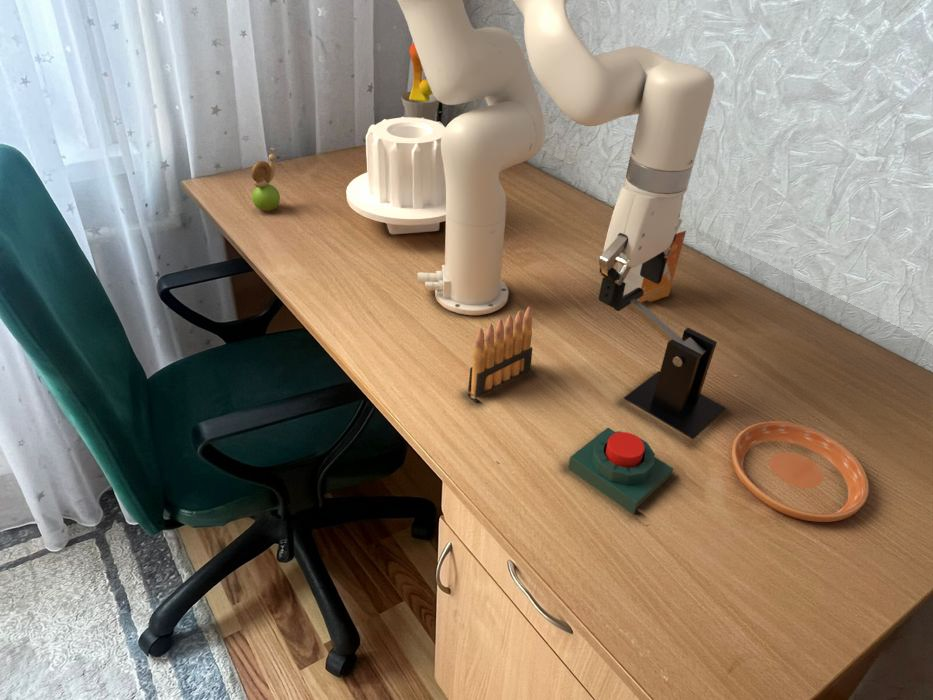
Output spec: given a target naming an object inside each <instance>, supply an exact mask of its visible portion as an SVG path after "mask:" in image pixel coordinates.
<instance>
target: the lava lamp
mask: <svg viewBox="0 0 933 700" xmlns="http://www.w3.org/2000/svg"><path fill="white" fill-rule="evenodd" d="M408 31H409V33H410V30H408ZM408 53H409V56H410V59H411V63H412V69H413V81H412V87H411V91H407V92H406V91H405V92H404V93H402V94H401V95H400V99H401V102H402V105H403V108H404V111H405V113H406V117H410V118H422V117H423V118H424V119H428V120H432V121H434V119H435V116H436V113H437V110H438V107H439V105H440V101H438V100H437V99H436V97H435V96H434V95H433V93H432V91H431V89H430V86H429V84H428V81H427V79H426V78H424V79H422V77H423V72H424V70H423V67H422V65H421V62H420V59H419V56H418V53H417V50H416V48H415V45H414V42H413V43H411V44H410V48H409V51H408Z"/></svg>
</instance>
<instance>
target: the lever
mask: <svg viewBox="0 0 933 700" xmlns="http://www.w3.org/2000/svg"><path fill="white" fill-rule="evenodd" d="M643 295H644V292H643V290H642V289H641V288H636V289H634V290H632V291H631V292H629V293H628V294H626V295H624V294H623V298H622V302H621V306H620V308H619V309H614V308H613V310H614V311H615V312H620V311H621V310H623V309H625V308H626V307H628V308H630V309H631V310H632V311H633V312H634V313H635V314H636V315H638V316H639V317H640V318H641V319H642V320H643V321H644V322H646V323H647V324H648V325H649V326H650V327H651V328H653V329H654V330H655V331H656V332H657V333H658V334H659V335H661V336H662V337H663V338H664V340H666V341H667V343H668V342H669V341H670V340H671V339H673V340H675V341H677V342H679V343H681V344H682V345H684V346H686V347H688V348H690V349H692V350H694V351H696V352H698V353H700V354H701V357H702V356H703V354H704V353H705V352H706V350H704V349H703V348H702V347H701V346H700V345H699V344H697V343H696V342H695V341H694V340H693V339H692V338H691V337H689V338H688V339H687V340H685V341H684V340H682V337H680V336H679V335H678V334H677V333H676V332H675V331H674V330H672V329H671V328H670V327H669V326H668V325H667V324H665V322H663V321H662V320H661V319H660V318H659V317H658V316H656V315H655V314H654V313H653V312H652V311H651V310H649V309H648V308H647V307H646V306H645V305H644V304H642V302H641V303H640V302H639V301H638V299H639V298H641V297H642V296H643ZM701 357H700V358H701Z"/></svg>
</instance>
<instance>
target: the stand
mask: <svg viewBox="0 0 933 700" xmlns="http://www.w3.org/2000/svg"><path fill="white" fill-rule="evenodd" d="M689 337H691V338H692V339H693V340H694V341H695V342H696V343H697V344H699V345H700V346H701V347H702V348H703V349H704V350H706V352H705V353H704V354H703V356H702V357H701V354H700V353H698V352H696V351H694V350H692V349H690V348H688V347H686V346H684V345H682V344H681V343H679V342H677V341H675V340H673V339H671V340H670V341H669V342H668V341H667V344H666V347H665V352H664V356H663V358H662V363H661V365H660V366H661V367H660V370H658V371H657V372H656V373H654V374H653V375H651V376H650V377H649V378H648V379H646V380H645V381H643V383H641V384H640V385H638V386H637V387H636V388H634V389H633V390H632V391H630V392H629V393H628V394H627V395H625V396H624V397H623V399H624V400H625V401H627V402H629V403H631V404H632V405H634V406H635V407H637V408H639V409H641V410H642V411H644V412H646V413H648V414H649V415H651V416H652V417H654V418H656V419H657V420H659V421H661V422H663V423H664V424H666V425H668V426H669V427H671V428H672V429H675V430H676V431H678V432H679V433H681V434H683V435H685V436H686V437H688V438H689V439H692V440H693V439H694V438H695V437H697V435H698V434H699V433H701V432H702V431H703V430H704V429H706V427H708V426H709V424H711V423H712V422H713V421H714V420H715V419H716V418H717V417H718V416H719V415H720V414H722V413H723V412H724V411H725V410H726V409H727V408H726V406H725V405H722V404H720V403H718V402H716V401H714V400H712V399H711V398H709V397H707V396H705V395H703V394H702V389H703V387H704V385H705V380H706V378H707V375H708V371H709V369H710V365H711V362H712V359H713V356H714V353H715V349H716V347H717V344H718V342H717V340H715V339H712V338H710V337H708V336H706V335H705V334H702V333H700V332H698V331H696V330H695V329H692V328H690V327H687V328H685V329H684V330H683V333H682V337H681V339H682V340H684V341H685V340H687V339H688V338H689ZM700 357H701V358H700Z"/></svg>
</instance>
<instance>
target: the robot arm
mask: <svg viewBox="0 0 933 700" xmlns="http://www.w3.org/2000/svg"><path fill="white" fill-rule="evenodd" d="M396 2H397V3H398V5H399V8H400V10H401V12H402V14H403V16H404V18H405V21H406V24H407V27H408V31H410V32H409V33H410V36H411V38H412V42H413V43H414V45H415V48H416V50H417V53H418V56H419V59H420V62H421V65H422V67H423V73H424V75H425V79H427V81H428V84H429V86H430V89H431V91H432V93H433V95H434V96H435V97H436V99H437V100H438V101H439V103H441V104H443V105H448V106H454V105H463V104H465V103H470V102H473V101H477V100H480V99H485V101H486V104H487V105H486V106H482V107H479V108H476V109H473V110H469V111H466V112H464V113H461V114H459V115H458V116H456V117H455V118H452V120H451V121H450V122H449V123H448V124H447V125H446V126H445V129H444V131H443V134H442V137H441V154H442V160H443V165H444V171H445V180H446V221H445V242H444V264H442V265H441V270H436V271H435V272H429V271H428V272H427V271H426V272H423V271H422V272H417V284H418V285H419V284H420V285H422V284H423V285H424V290H425V291H433V290H434V296H435V299H436V301H437V303H439V304H440V305H441V306H442V307H443V308H445V309H446V310H448V311H450V312H453V313H456V314H460V315H463V316H464V315H465V316H467V315H468V316H482V315H487V314H488V315H489V314H493V313H494V312H496V311H498V310H500V309H502V308H503V307H504V306H505V305H506V304H507V303H508V300H509V289H508V287H507V285H506V284H505V282H504V281H502V280H501V276H502V268H503V267H502V265H503V253H504V242H505V241H504V239H505V228H506V215H507V196H506V192H505V190H504V188H503V185H502V183H501V181H500V173H501V172H502V171H504V170H507V169H509V168H510V167H514V166H517V165H519V164H521V163H523V162H526V161H528V160H531V159H532V158H534V157H535V156H537V155H538V154H539V153H540V152H541V150H542V148H543V146H544V144H545V141H546V134H547V133H546V122H545V117H544V113H543V109H542V107H541V106H542V105H541V103H540V100H539V97H538V94H537V90H536V88H535V84H534V81H533V78H532V74H531V72H530V69H529V68H530V67H531V69H532V71H533V74H534V75H535V77H536V78H537V81H538V82H539V83H540V85H541V86H542V87H543V89H544V90H545V92H546V93H547V94H548V95H549V97H550V98H551V100H552V101H553V102H554V104H555V105H556V106H557V107H558V108H559V109H560V111H561V112H562V113H563V114H564V115H565V116H566V117H567V118H569V119H570V120H571V121H572V122H575V123H576V124H578V125H581V126H584V127H598V126H601V125H604V124H607V123H610V122H612V121H616V120H617V119H621V118H622V117H628V116H629V117H630V116H635V115H638V117H637V121H636V127H635V130H634V136H633V139H632V140H633V141H632V145H631V150H630V154H629V158H628V159H629V160H628V163H627V164H628V165H627V169H626V175H625V179H624V182H625V183H624V185H623V186H622V187H621V190H620V192H619V194H618V197H617V200H616V202H615V206H614V209H613V212H612V215H611V219H610V222H609V226H608V230H607V233H606V237H605V242H604V247H603V253H602V254H601V255H600V256H599V258H598V264H599V273H600V276H601V277H602V280H601V284H600V288H599V294H598V301H599V302H601V303H603V304H605V305H606V306H608V307H611V308H612V309H613V310H614V309H619V308H620V306H621V302H622V298H623V296H624V289H625V285H626V283H624V282H623V281H624V279H625V278H626V276H627V274H628V273H629V271H630V269H631V268H632V267H636V266H639V265H641V264H642V267H641V271H640V276H642V277H644V278H646V279H648V280H650V281H652V282H654V283H656V284H658V283H660V282H661V280H662V276H663V273H664V269H665V265H666V261H667V258H665V257H668V256H669V254H670V252H671V249H670V246H671V245H672V243H673V242H674V241H675V238H676V235H675V233H677V231H678V229H679V227H681V224H682V222H683V219H681V218H680V216H681V212H682V207H683V203H684V202H683V201H684V196H685V194H686V193H687V190H688V188H689V183H690V179H691V175H692V172H693V168H694V164H695V161H696V157H697V154H698V150H699V146H700V142H701V139H702V135H703V131H704V127H705V123H706V121H707V117H708V113H709V111H710V110H709V109H710V106H711V102H712V98H713V95H714V90H715V79H714V77H713V75H712V74H711V72H709V71H708V70H706V69H703V68H702V67H701V66H696V65H694V64H688V63H681V62H675V61H672V60H670V59H669V58H666V57H665V56H662V55H661V54H659V53H657V52H655V51H653V50H651V49H649V48H646V47H642V46H637V45H636V46H627V47H622V48H619V49H616V50H609V51H607V52H606V51H605V52H602V53H599V54H595V55H594V54H593V53H592V52H591V51H590V50H589V48H588V47H587V45H586V44H585V43H584V41H583V40H582V39H581V37H580V36H579V35H578V34H577V31H576V30H575V29H574V27H573V25H572V23H571V21H570V19H569V15H568V13H567V6H566V5H567V4H568V3H569V2H570V0H512V2H513V3H514V5H515V6H516V7H517V9H518V10H519V12H520V13H521V15H522V17H523V21H524V22H523V23H524V24H523V37H524V43H525V48H526V53H527V58H528V61H529V64H530V67H529V65H528V62H527V58H526V55H525V53H524V52H523V51H524V50H523V49H522V47H521V45H520V43H519V42H518V41H517V39H516V38H515V37H514V36H513V35H512V34H511V33H510V32H509V31H507V30H505V29H503V28H500V27H496V26H487V27H481V28H476V29H475V28H474V27H473V25H472V23H471V21H470V18H469V16H468V14H467V11H466V7H465V3H464V0H396ZM620 253H622V254H624V255H626V256H627V259H629V260H628V261H627V260H625V259H623V258H621V257H620ZM618 263H620V264H622V265H624V266H623V268H622V269H621V271H620V273H618V272H617V268H615V266H616V264H618Z"/></svg>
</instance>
